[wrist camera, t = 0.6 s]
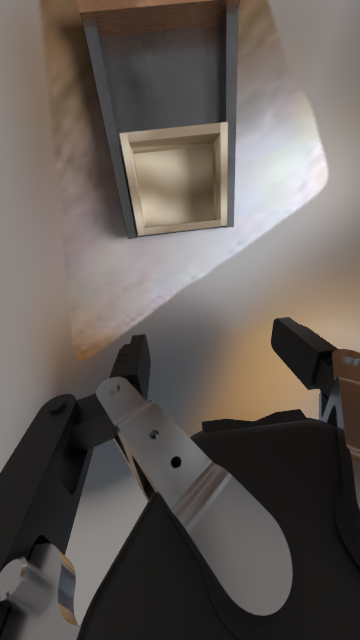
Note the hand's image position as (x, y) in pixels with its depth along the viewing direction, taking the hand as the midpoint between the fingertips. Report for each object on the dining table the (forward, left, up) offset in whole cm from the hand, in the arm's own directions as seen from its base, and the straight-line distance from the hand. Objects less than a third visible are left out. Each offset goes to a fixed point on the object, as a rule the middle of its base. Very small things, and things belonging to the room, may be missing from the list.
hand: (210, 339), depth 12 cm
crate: (-10, 0, -23) cm, 25 cm away
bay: (-16, 0, -23) cm, 28 cm away
